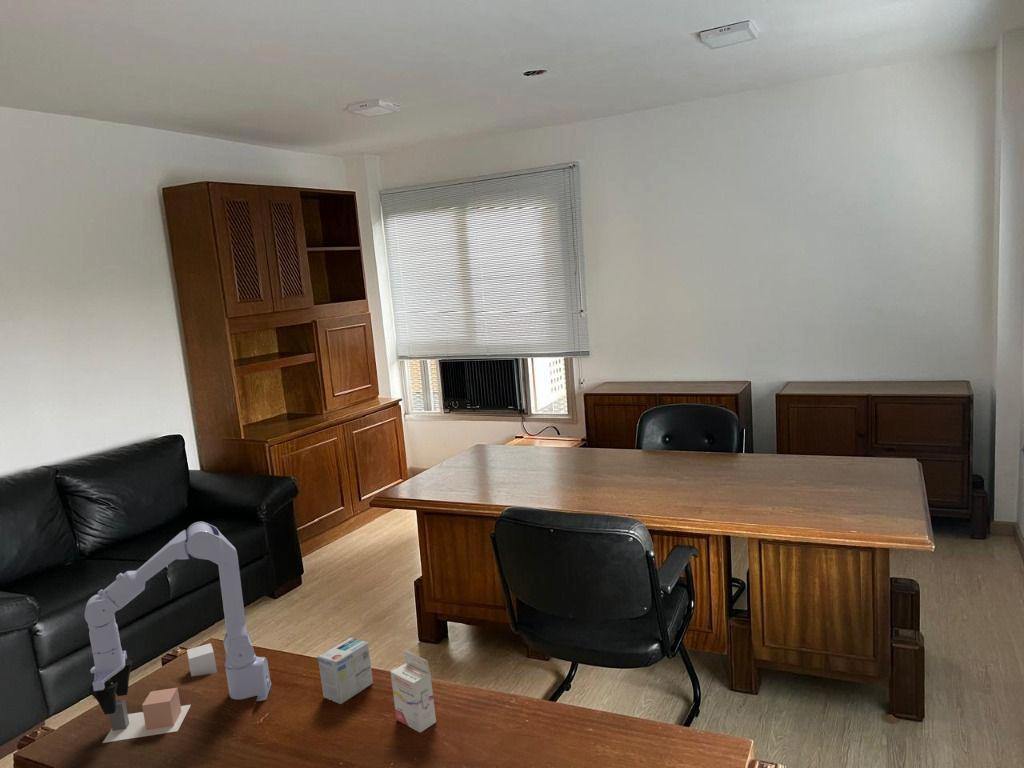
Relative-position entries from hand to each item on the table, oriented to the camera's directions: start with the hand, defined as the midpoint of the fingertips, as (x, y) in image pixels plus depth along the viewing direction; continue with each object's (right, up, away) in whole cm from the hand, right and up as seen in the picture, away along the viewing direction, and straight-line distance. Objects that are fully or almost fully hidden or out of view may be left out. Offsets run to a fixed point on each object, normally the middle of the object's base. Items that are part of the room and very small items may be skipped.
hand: (116, 703), depth 176 cm
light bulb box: (+51, -1, +10) cm, 52 cm away
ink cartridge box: (+69, -2, -6) cm, 69 cm away
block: (+10, -5, +2) cm, 11 cm away
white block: (+9, -3, +26) cm, 28 cm away
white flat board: (+7, -6, +2) cm, 9 cm away
